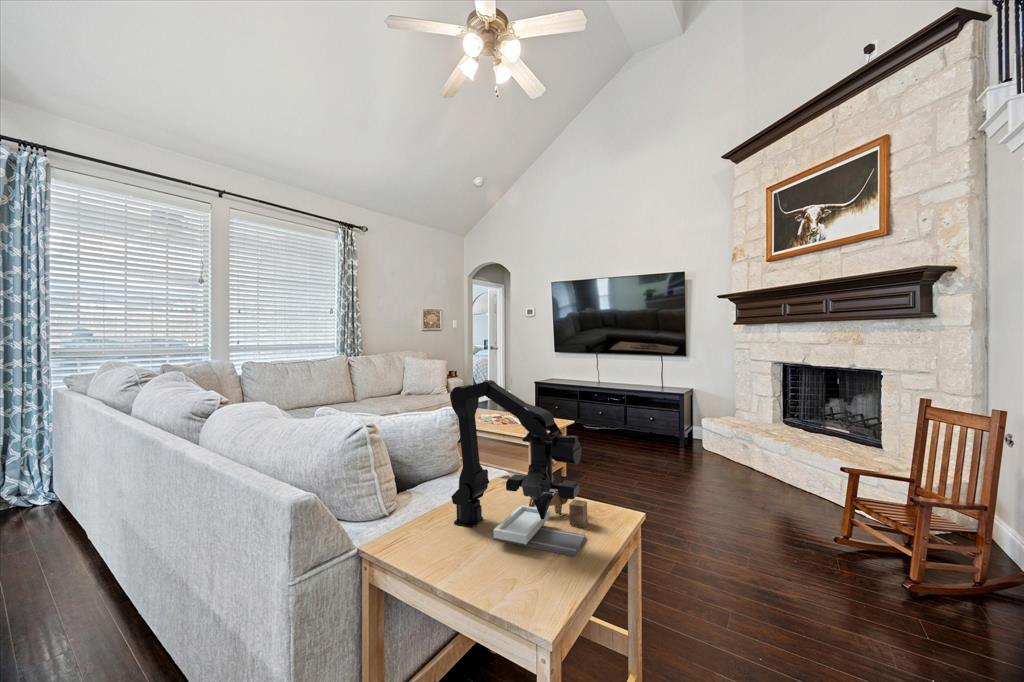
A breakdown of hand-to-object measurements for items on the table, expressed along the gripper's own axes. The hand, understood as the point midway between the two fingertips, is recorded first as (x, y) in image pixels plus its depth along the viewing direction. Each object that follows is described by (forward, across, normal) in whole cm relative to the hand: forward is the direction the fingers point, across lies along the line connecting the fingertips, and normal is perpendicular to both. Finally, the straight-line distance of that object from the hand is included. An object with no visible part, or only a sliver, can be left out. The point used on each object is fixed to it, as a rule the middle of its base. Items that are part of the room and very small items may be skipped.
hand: (542, 518), depth 107 cm
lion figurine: (+6, -4, +16) cm, 18 cm away
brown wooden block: (+6, +6, +12) cm, 15 cm away
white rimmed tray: (+5, -6, 0) cm, 8 cm away
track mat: (+6, -1, 0) cm, 6 cm away
